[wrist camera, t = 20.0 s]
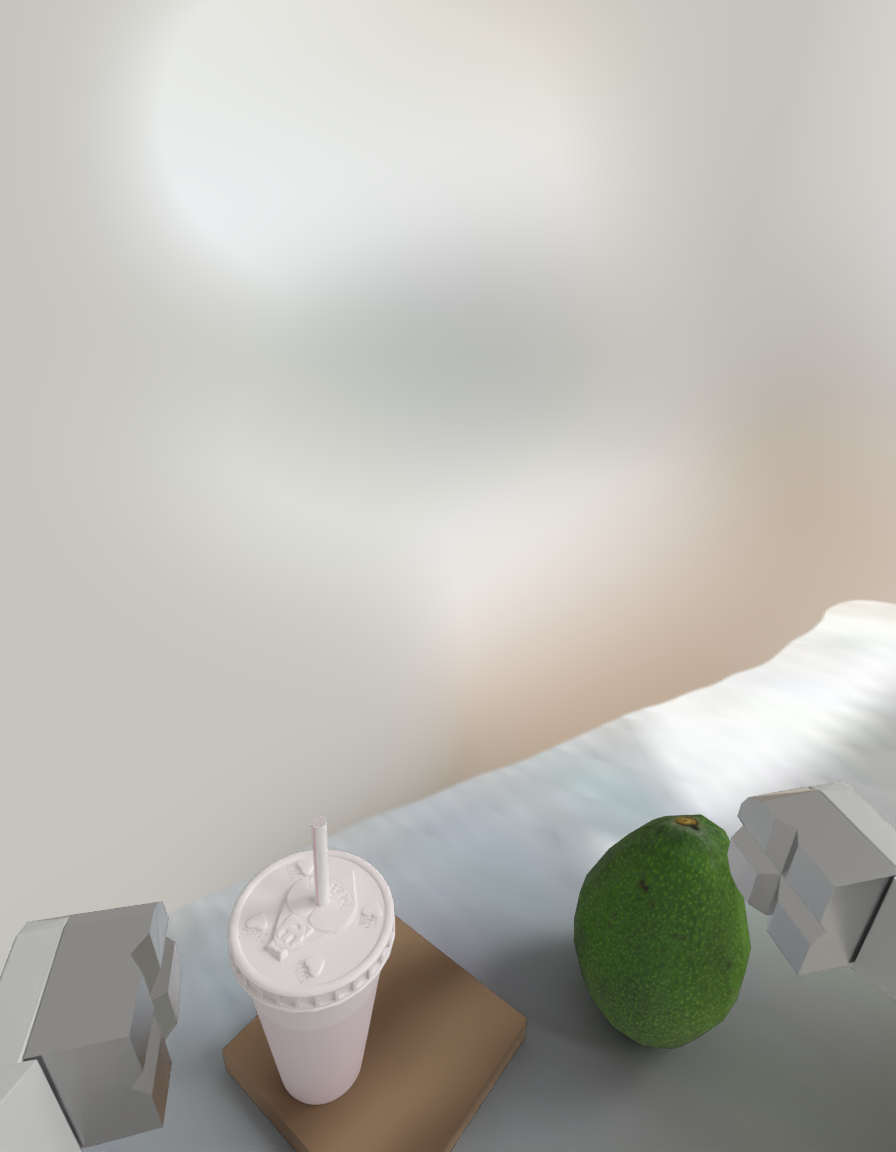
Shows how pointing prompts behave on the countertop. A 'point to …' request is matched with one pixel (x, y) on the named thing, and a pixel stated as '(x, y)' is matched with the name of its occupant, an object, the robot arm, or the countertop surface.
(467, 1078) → the coaster board
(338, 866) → the smoothie
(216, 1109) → the countertop surface
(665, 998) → the avocado
